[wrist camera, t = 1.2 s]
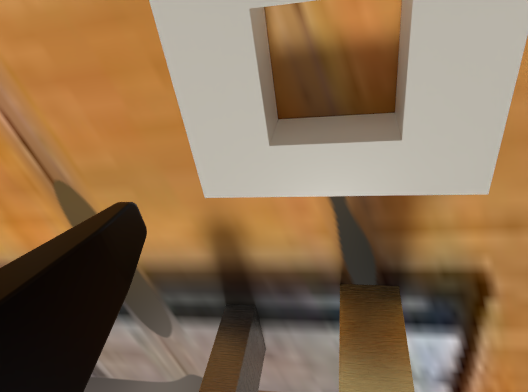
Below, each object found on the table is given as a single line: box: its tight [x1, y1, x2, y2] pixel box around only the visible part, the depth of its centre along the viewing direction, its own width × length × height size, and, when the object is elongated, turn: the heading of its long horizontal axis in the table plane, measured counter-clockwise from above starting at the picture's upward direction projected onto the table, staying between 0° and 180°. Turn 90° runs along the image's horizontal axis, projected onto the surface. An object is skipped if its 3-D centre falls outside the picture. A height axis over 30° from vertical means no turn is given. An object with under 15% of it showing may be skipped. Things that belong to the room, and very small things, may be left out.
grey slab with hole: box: [149, 0, 528, 198], centre depth 17 cm, size 14×12×3 cm
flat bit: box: [199, 304, 266, 392], centre depth 29 cm, size 2×6×8 cm, turn 8°
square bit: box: [339, 284, 414, 392], centre depth 24 cm, size 4×4×10 cm
